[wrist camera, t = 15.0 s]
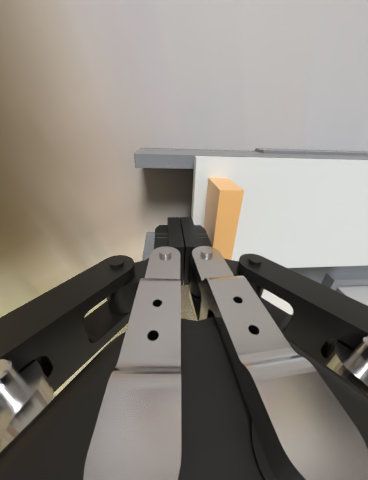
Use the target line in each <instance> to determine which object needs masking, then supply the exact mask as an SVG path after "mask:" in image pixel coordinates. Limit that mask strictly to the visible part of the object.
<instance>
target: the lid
mask: <svg viewBox="0 0 368 480" xmlns="http://www.w3.org/2000/svg"><path fill="white" fill-rule="evenodd" d="M191 218H192V219H193V223H194V225H201V226H202V227H203V228H205V230H206V232H207V235H208V238H209V239H210V242H211V244H212V247H213V248H215V249H217V250H219V251H220V253H221V254H222V256H223V258H225V259H228V260H234V261H239V258H240V256H241V255H244V254H256V255H260V256H262V257H264V258H266V259H269V260H271V261H273V262H275V263H277V264H279V265H282V266H284V267H286V268H303V267H334V266H366V265H368V160H346V159H304V158H263V157H222V156H194V175H193V193H192V212H191Z"/></svg>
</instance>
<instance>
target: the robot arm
mask: <svg viewBox="0 0 368 480" xmlns="http://www.w3.org/2000/svg"><path fill="white" fill-rule="evenodd" d="M183 282H184V285H189V299H190V303H191V307H192V311H193V315H194V319H195V321H192V320H187V319H181V285H183ZM264 289H265V290H267V291H269V292H270V293H272V294H274V295H276V296H277V297H279V298H281V299H283V300H284V301H286V302H288V303H289V304H290V305H291V307H292V309H293V314H292V315H291V314H288V313H286V312H285V311H283V310H281V309H280V308H278V307H276V306H275V305H273V304H272V303H270V302H268V301H267V300H265V299H263V298H262V297H261V296H262V293H263V290H264ZM105 298H107V301H106V302H105V303H104V304H102V305H101V306H100V307H98V308H97V309H96V310H94V311H93V312H92V313H90V314H89V315H88V316H86V317H85V318H84V316H85V315H86V313H87V312H88V311H89V310H90V309H92V308H93V307H94V306H96V305H97V304H98V303H100V302H101V301H102V300H104V299H105ZM127 323H128V326H127V329H126V332H125V333H123V334H121V335H120V336H118V337H117V338H115V339H114V340H113V341H111V342H110V343H109V344H108V345H107V346H106V347H105V348H104V349H103V350H102V351H101V352H100V353H99V354H98V355H97V356H96V357H95V358H94V359H93V360H92V361H91V362H90V363H89V364H88V365H87V366H86V367H85V368H84V369H83V370H82V371H81V372H80V373H79V374H78V375H77V376H76V377H75V378H74V379H73V380H72V381H71V382H70V383H69V384H68V385H67V386H66V387H65V388H64V389H63V390H62V391H61V392H60V393H59V394H58V395H57V396H56V397H55V398H54V399H53V400H52V397H53V393H54V392H55V391H56V390H57V389H58V388H59V387H60V386H61V385H62V384H63V383H64V382H65V381H66V380H68V379H69V378H70V377H71V376H72V375H73V374H74V373H75V372H76V371H77V370H78V369H79V368H80V367H81V366H82V365H84V364H85V363H86V362H87V361H88V360H89V359H90V358H91V357H92V356H93V355H94V354H95V353H96V352H97V351H98V350H100V349H101V348H102V347H103V346H104V345H105V344H106V343H107V342H108V341H109V340H110V339H111V338H112V337H113V336H114V335H116V334H117V333H118V332H119V331H120V330H121V329H122V328H123V327H124V326H125V325H126V324H127ZM0 480H368V306H367V305H365V304H363V303H361V302H359V301H357V300H354V299H352V298H350V297H348V296H346V295H344V294H342V293H339V292H337V291H335V290H333V289H331V288H329V287H327V286H324V285H322V284H320V283H318V282H316V281H314V280H312V279H309V278H307V277H305V276H303V275H301V274H299V273H297V272H294V271H292V270H290V269H288V268H286V267H284V266H282V265H279V264H277V263H275V262H273V261H271V260H269V259H266V258H264V257H262V256H260V255H256V254H244V255H241V256H240V258H239V261H234V260H228V259H225V258H223V256H222V254H221V253H220V251H219V250H217V249H215V248H213V247H212V244H211V242H210V239H209V238H208V235H207V232H206V230H205V228H203V227H202V226H201V225H194V223H193V219H192V218H168V225H159V226H158V227H157V228H156V229H155V239H154V250H153V251H152V252H151V254H150V258H148V259H146V260H144V261H141V262H136V263H134V261H133V259H132V258H130V257H128V256H123V255H118V256H113V257H109V258H107V259H105V260H103V261H102V262H100V263H98V264H96V265H94V266H93V267H91V268H89V269H87V270H86V271H84V272H82V273H80V274H78V275H77V276H75V277H73V278H71V279H69V280H68V281H66V282H64V283H62V284H60V285H59V286H57V287H55V288H53V289H51V290H50V291H48V292H46V293H44V294H42V295H41V296H39V297H37V298H35V299H33V300H32V301H30V302H28V303H26V304H24V305H23V306H21V307H19V308H17V309H15V310H14V311H12V312H10V313H8V314H6V315H5V316H3V317H1V318H0Z"/></svg>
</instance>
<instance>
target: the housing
mask: <svg viewBox="0 0 368 480" xmlns="http://www.w3.org/2000/svg"><path fill="white" fill-rule="evenodd" d="M194 156H222V157H263V158H304V159H346V160H368V152H360V151H325V150H290V149H256V151H229V150H193V149H156V148H140V149H139V150H138V151H137V152H136V153H134V159H135V168H176V169H194ZM154 239H155V232H147V234H146V240H145V246H144V252H143V261H144V260H146V259H148V258H150V254H151V252H152V251H153V250H154ZM288 269H290V270H292V271H294V272H297V273H299V274H301V275H303V276H305V277H307V278H309V279H312V280H314V281H316V282H318V283H320V284H322V285H324V286H327V287H329V288H331V289H333V290H335V291H337V292H339V293H342V294H344V295H346V296H348V297H350V298H352V299H354V300H357V301H359V302H361V303H363V304H365V305H367V306H368V265H366V266H334V267H303V268H288Z"/></svg>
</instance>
